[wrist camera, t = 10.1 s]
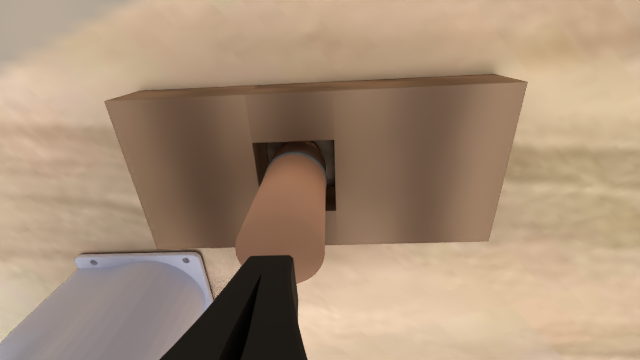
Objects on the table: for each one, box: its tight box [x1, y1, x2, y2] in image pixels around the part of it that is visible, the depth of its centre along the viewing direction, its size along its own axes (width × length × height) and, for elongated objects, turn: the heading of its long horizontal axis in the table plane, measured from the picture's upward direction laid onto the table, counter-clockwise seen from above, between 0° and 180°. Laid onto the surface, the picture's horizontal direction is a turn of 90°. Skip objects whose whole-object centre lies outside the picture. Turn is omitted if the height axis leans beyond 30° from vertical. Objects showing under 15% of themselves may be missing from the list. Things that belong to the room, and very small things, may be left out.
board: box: [104, 74, 528, 249], centre depth 17 cm, size 20×9×3 cm, turn 93°
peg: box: [235, 141, 327, 284], centre depth 15 cm, size 3×3×9 cm
